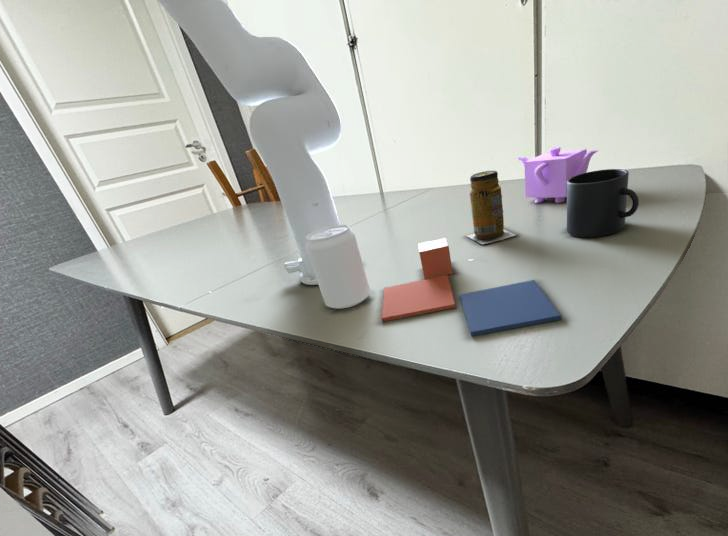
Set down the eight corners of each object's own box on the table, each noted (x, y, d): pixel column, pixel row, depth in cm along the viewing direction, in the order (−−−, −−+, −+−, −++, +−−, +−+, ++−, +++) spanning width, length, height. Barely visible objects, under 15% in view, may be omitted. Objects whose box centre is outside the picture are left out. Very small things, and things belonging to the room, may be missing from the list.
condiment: (498, 227, 86) (493, 167, 80) (516, 236, 79) (512, 170, 73) (466, 236, 86) (458, 177, 80) (481, 246, 79) (474, 181, 73)
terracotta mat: (382, 321, 60) (381, 318, 59) (385, 290, 70) (384, 287, 70) (455, 307, 58) (455, 303, 58) (448, 278, 69) (447, 274, 68)
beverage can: (352, 312, 65) (330, 239, 59) (316, 309, 69) (292, 241, 63) (380, 291, 70) (362, 222, 64) (345, 289, 75) (325, 224, 69)
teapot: (526, 210, 92) (523, 159, 87) (518, 198, 104) (516, 152, 98) (597, 197, 89) (599, 143, 84) (582, 186, 100) (583, 137, 95)
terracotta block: (424, 279, 70) (419, 252, 68) (423, 269, 75) (418, 243, 72) (452, 273, 70) (448, 245, 67) (450, 264, 74) (445, 237, 71)
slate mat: (471, 336, 51) (470, 332, 50) (460, 298, 61) (459, 294, 61) (560, 319, 49) (560, 315, 49) (534, 283, 60) (533, 279, 59)
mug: (619, 242, 66) (623, 183, 61) (556, 235, 75) (555, 184, 70) (650, 223, 69) (657, 167, 65) (586, 219, 78) (588, 169, 74)
